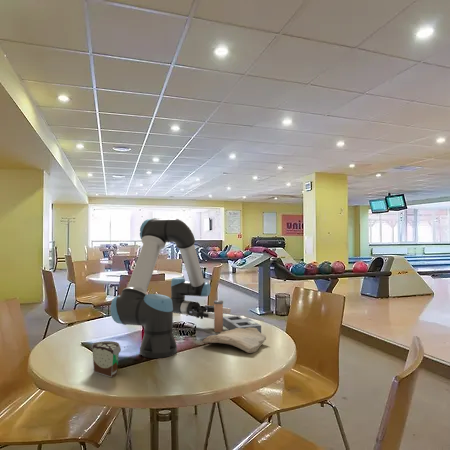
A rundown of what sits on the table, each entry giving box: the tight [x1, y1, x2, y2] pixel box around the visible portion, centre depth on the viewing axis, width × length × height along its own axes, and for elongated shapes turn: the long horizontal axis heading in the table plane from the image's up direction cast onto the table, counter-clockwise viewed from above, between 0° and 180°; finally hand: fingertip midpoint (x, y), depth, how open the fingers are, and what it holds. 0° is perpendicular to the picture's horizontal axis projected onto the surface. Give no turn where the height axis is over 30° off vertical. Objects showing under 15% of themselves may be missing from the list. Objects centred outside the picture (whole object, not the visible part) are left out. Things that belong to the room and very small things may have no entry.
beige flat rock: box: [201, 327, 267, 354], centre depth 160 cm, size 24×8×20 cm
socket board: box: [223, 314, 262, 334], centre depth 187 cm, size 24×12×4 cm, turn 20°
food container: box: [91, 340, 122, 378], centre depth 130 cm, size 12×6×10 cm, turn 58°
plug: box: [213, 299, 224, 333], centre depth 183 cm, size 5×5×15 cm
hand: (222, 313), depth 182 cm, fingers open, 13 cm apart
